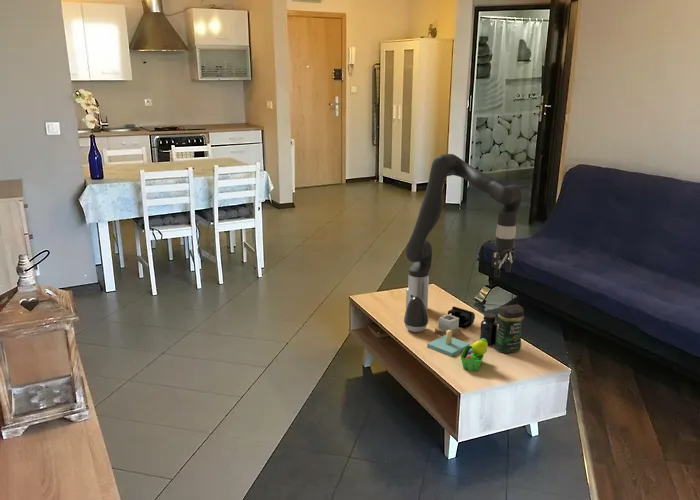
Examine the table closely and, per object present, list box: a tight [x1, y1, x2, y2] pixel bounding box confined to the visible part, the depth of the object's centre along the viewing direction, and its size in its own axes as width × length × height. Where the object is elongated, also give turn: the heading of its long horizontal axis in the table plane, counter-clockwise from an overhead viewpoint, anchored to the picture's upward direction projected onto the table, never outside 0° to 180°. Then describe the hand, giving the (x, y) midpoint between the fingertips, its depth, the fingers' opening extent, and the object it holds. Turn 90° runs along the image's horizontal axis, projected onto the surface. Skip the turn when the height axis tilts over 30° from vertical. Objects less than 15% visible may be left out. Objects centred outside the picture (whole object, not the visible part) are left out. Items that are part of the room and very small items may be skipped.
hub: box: [426, 330, 471, 357], centre depth 232 cm, size 12×12×7 cm
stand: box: [434, 317, 463, 338], centre depth 245 cm, size 8×8×7 cm
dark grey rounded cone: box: [403, 295, 429, 333], centre depth 247 cm, size 10×10×15 cm
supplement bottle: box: [479, 313, 499, 347], centre depth 235 cm, size 7×7×12 cm
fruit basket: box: [460, 338, 488, 372], centre depth 216 cm, size 11×9×11 cm
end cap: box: [447, 306, 476, 330], centre depth 254 cm, size 10×7×7 cm
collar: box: [437, 313, 460, 332], centre depth 244 cm, size 6×6×5 cm
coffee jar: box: [494, 303, 525, 354], centre depth 228 cm, size 10×8×19 cm
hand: (502, 274), depth 234 cm, fingers open, 8 cm apart
